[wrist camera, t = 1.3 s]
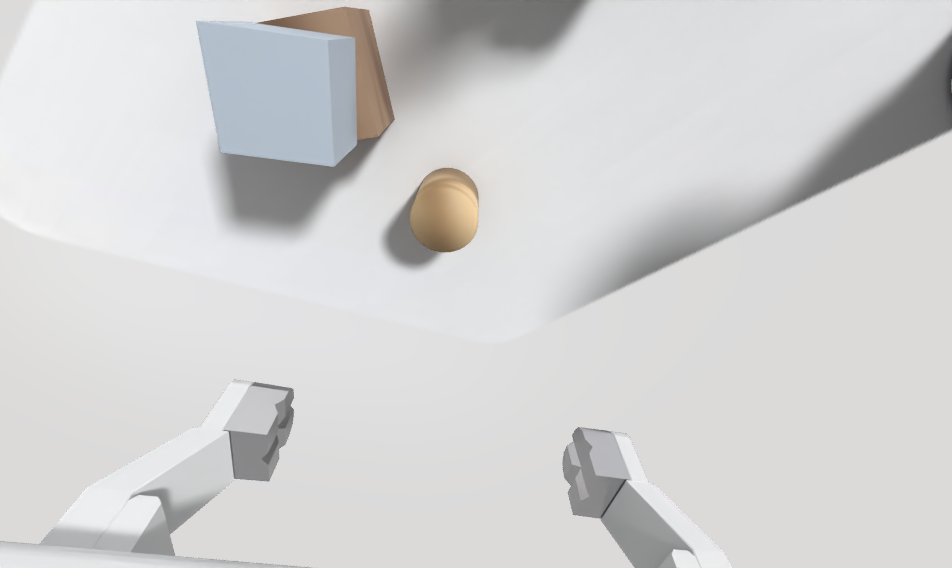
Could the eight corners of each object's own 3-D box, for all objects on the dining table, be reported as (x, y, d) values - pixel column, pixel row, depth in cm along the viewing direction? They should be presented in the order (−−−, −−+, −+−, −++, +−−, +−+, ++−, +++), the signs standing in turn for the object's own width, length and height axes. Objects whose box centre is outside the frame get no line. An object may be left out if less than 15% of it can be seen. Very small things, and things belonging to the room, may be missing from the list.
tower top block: (355, 37, 24) (327, 39, 20) (357, 144, 27) (334, 167, 23) (247, 22, 24) (195, 20, 19) (261, 132, 27) (220, 152, 22)
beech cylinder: (478, 168, 34) (478, 189, 30) (477, 226, 36) (477, 252, 32) (416, 167, 34) (407, 187, 30) (419, 224, 36) (411, 251, 32)
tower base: (369, 10, 28) (344, 6, 23) (394, 118, 32) (378, 137, 27) (270, 28, 29) (225, 28, 24) (306, 132, 33) (274, 152, 27)
